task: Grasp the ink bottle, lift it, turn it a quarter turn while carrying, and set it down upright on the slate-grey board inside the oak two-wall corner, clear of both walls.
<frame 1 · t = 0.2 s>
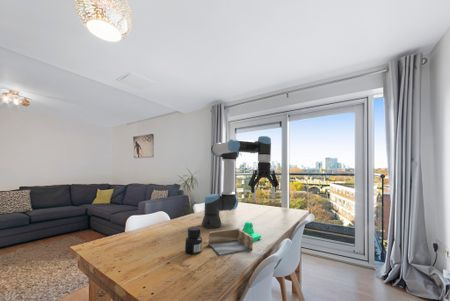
hand: (263, 198, 117), 28 cm above the table, fingers open, 13 cm apart
ink bottle: (193, 251, 107), on the table
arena: (229, 247, 114), on the table
camera mount: (250, 239, 127), on the table
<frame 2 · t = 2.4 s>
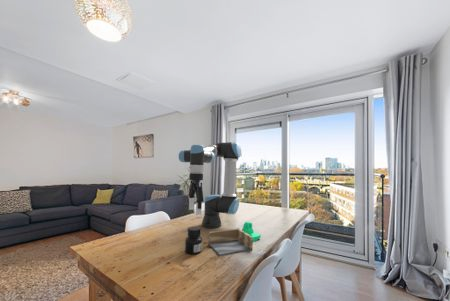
hand: (194, 212, 108), 21 cm above the table, fingers open, 13 cm apart
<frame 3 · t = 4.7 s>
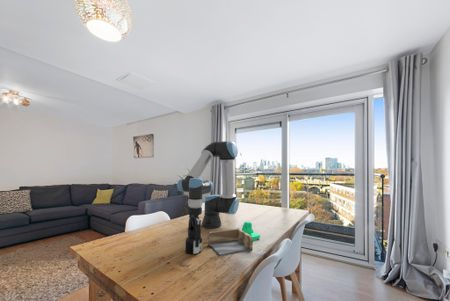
hand: (193, 249, 107), 1 cm above the table, fingers closed on ink bottle, 9 cm apart
ink bottle: (193, 251, 107), on the table, touching gripper
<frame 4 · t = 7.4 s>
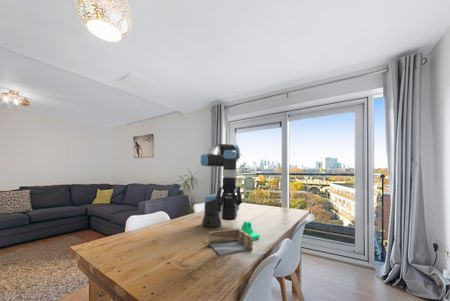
hand: (228, 216, 113), 17 cm above the table, fingers closed on ink bottle, 9 cm apart
ink bottle: (228, 219, 113), point 16 cm above the table, touching gripper
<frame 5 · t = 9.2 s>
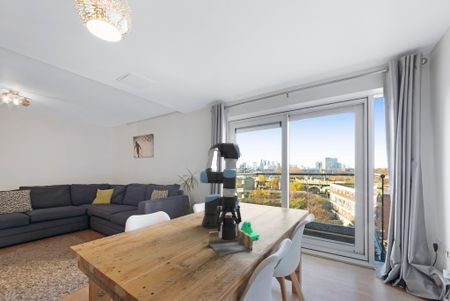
hand: (227, 236, 112), 7 cm above the table, fingers closed on ink bottle, 9 cm apart
ink bottle: (227, 238, 112), point 5 cm above the table, touching gripper
when the fingers open (3 cm above the table, at t = 10.4 s): ink bottle drops 1 cm, resting on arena.
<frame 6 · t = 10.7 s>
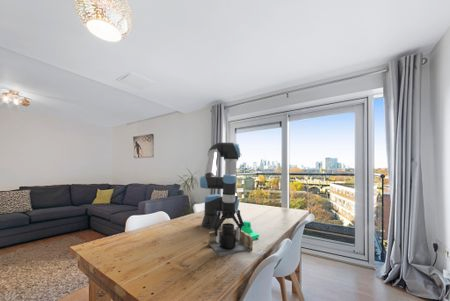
hand: (227, 240, 112), 4 cm above the table, fingers open, 12 cm apart
ink bottle: (227, 247, 112), point 1 cm above the table, touching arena
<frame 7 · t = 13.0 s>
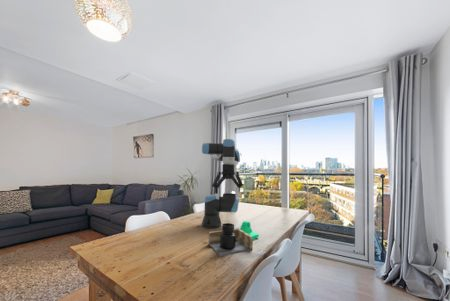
hand: (227, 198, 123), 26 cm above the table, fingers open, 13 cm apart
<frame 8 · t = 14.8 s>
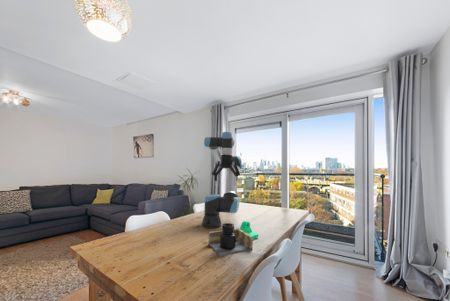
hand: (225, 185, 135), 33 cm above the table, fingers open, 13 cm apart
at the end: ink bottle inside the target area on the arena (2.2 cm from its centre), point 0.6 cm above the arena's base; ink bottle tilted 0°; the gripper is holding nothing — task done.
